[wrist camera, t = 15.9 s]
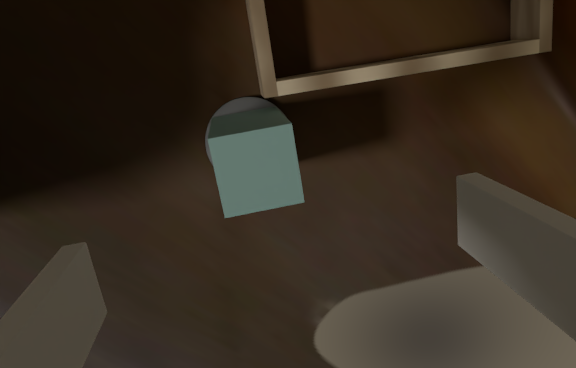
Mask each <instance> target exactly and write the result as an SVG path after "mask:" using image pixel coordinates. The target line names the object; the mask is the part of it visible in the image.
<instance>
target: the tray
mask: <svg viewBox="0 0 576 368" xmlns="http://www.w3.org/2000/svg"><path fill="white" fill-rule="evenodd" d="M245 1H246V7H247V13H248V20H249V26H250V32H251V38H252V44H253V50H254V56H255V62H256V68H257V74H258V80H259V87H260V93H261V95H262V96H263V97H264V98H270V97H276V96H282V95H288V94H294V93H300V92H306V91H312V90H318V89H324V88H330V87H336V86H342V85H348V84H354V83H360V82H367V81H373V80H379V79H385V78H391V77H397V76H403V75H409V74H415V73H421V72H427V71H433V70H439V69H445V68H451V67H457V66H463V65H469V64H476V63H482V62H488V61H494V60H500V59H506V58H512V57H518V56H524V55H530V54H536V53H542V52H548V51H552V20H553V0H511V41H505V42H498V43H492V44H486V45H480V46H474V47H467V48H461V49H455V50H449V51H443V52H436V53H430V54H424V55H418V56H412V57H405V58H399V59H393V60H387V61H381V62H374V63H368V64H362V65H356V66H350V67H344V68H337V69H331V70H325V71H319V72H313V73H306V74H300V75H294V76H288V77H282V78H275V71H274V64H273V58H272V51H271V45H270V38H269V32H268V25H267V18H266V12H265V5H264V0H245Z"/></svg>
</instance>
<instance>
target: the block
mask: <svg viewBox="0 0 576 368" xmlns="http://www.w3.org/2000/svg"><path fill="white" fill-rule="evenodd" d="M208 144H209V148H210V153H211V157H212V162H213V166H214V171H215V175H216V180H217V184H218V189H219V193H220V198H221V202H222V207H223V211H224V216H225V218H228V217H233V216H238V215H243V214H248V213H253V212H258V211H263V210H268V209H273V208H278V207H283V206H288V205H293V204H298V203H303V202H304V196H303V190H302V183H301V177H300V171H299V165H298V159H297V152H296V146H295V140H294V134H293V127H292V123H291V122H290V121H289V120H288V119H287V118H286V117H285V116H284V115H283V114H282V113H281V112H280V110H279V109H278V108H277V107H276V106H273V107H268V108H262V109H257V110H251V111H246V112H240V113H235V114H229V115H224V116H218V117H213V118H212V120H211V125H210V129H209V134H208Z"/></svg>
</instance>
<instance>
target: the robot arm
mask: <svg viewBox="0 0 576 368" xmlns="http://www.w3.org/2000/svg"><path fill="white" fill-rule="evenodd" d="M457 220H458V245H459V246H460V247H461V248H463V249H464V250H465V251H466V252H467V253H469V254H470V255H471V256H472V257H474V258H475V259H476V260H477V261H478V262H480V263H481V264H482V265H483V266H485V267H486V268H487V269H488V270H490V271H491V272H492V273H493V274H494V275H496V276H497V277H498V278H499V279H500V280H502V281H503V282H504V283H505V284H507V285H508V286H509V287H510V288H511V289H513V290H514V291H515V292H516V293H518V294H519V295H520V296H521V297H523V298H524V299H525V300H526V301H527V302H529V303H530V304H531V305H532V306H533V307H535V308H536V309H537V310H539V311H540V312H541V313H542V314H543V315H544V316H546V317H547V318H548V319H549V320H551V321H552V322H553V323H554V324H555V325H557V326H558V327H559V328H560V329H562V330H563V331H564V332H565V333H566V334H568V335H569V336H570V337H571V338H573V339H574V340H575V341H576V219H575V218H572V217H570V216H568V215H565V214H563V213H561V212H559V211H557V210H555V209H553V208H551V207H549V206H546V205H544V204H542V203H540V202H538V201H536V200H534V199H532V198H529V197H527V196H525V195H523V194H521V193H519V192H517V191H515V190H512V189H510V188H508V187H506V186H504V185H502V184H500V183H498V182H495V181H493V180H491V179H489V178H487V177H485V176H483V175H481V174H479V173H471V174H465V175H460V176H457ZM106 314H107V311H106V307H105V304H104V301H103V297H102V294H101V291H100V287H99V284H98V281H97V278H96V274H95V271H94V268H93V264H92V261H91V258H90V254H89V251H88V248H87V244H86V242H83V243H78V244H72V245H67V246H62V247H61V248H60V250H59V251H58V252H57V253H56V254H55V255H54V257H53V258H52V259H51V260H50V261H49V263H48V264H47V265H46V266H45V267H44V268H43V270H42V271H41V272H40V273H39V274H38V276H37V277H36V278H35V279H34V280H33V282H32V283H31V284H30V285H29V286H28V287H27V289H26V290H25V291H24V292H23V293H22V295H21V296H20V297H19V298H18V299H17V300H16V302H15V303H14V304H13V305H12V306H11V308H10V309H9V310H8V311H7V312H6V313H5V315H4V316H3V317H2V318H1V319H0V368H82V367H83V364H84V362H85V360H86V358H87V356H88V353H89V351H90V349H91V347H92V345H93V343H94V340H95V338H96V336H97V334H98V332H99V329H100V327H101V325H102V323H103V321H104V318H105V316H106Z"/></svg>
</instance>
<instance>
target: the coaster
mask: <svg viewBox="0 0 576 368" xmlns="http://www.w3.org/2000/svg"><path fill="white" fill-rule="evenodd" d="M273 106H275V105H274V104H273V103H271V102H269V101H267V100H265V99H262V98H258V97H240V98H236V99H234V100H231V101H229V102H227V103H225V104H224V105H223V106H221V107H220V108H219V109H218V110H217V111H216V112H215V114H214V115H213V116H212V118H213V117H218V116H224V115H229V114H235V113H240V112H246V111H251V110H257V109H262V108H268V107H273ZM276 107H277V106H276ZM277 108H278V107H277ZM278 109H279V108H278ZM279 110H280V109H279ZM280 112H281V113H282V114H283V115H284V116H285V114H284V113H283V112H282V111H281V110H280ZM285 117H286V116H285ZM212 118H211V120H212ZM286 118H287V117H286ZM211 120H210V122H209V124H208V127H207V131H206V137H205V145H206V151H207V155H208V157H209V159H210V161H211V163H212V165H213V162H212V157H211V153H210V148H209V144H208V134H209V129H210V125H211Z"/></svg>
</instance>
